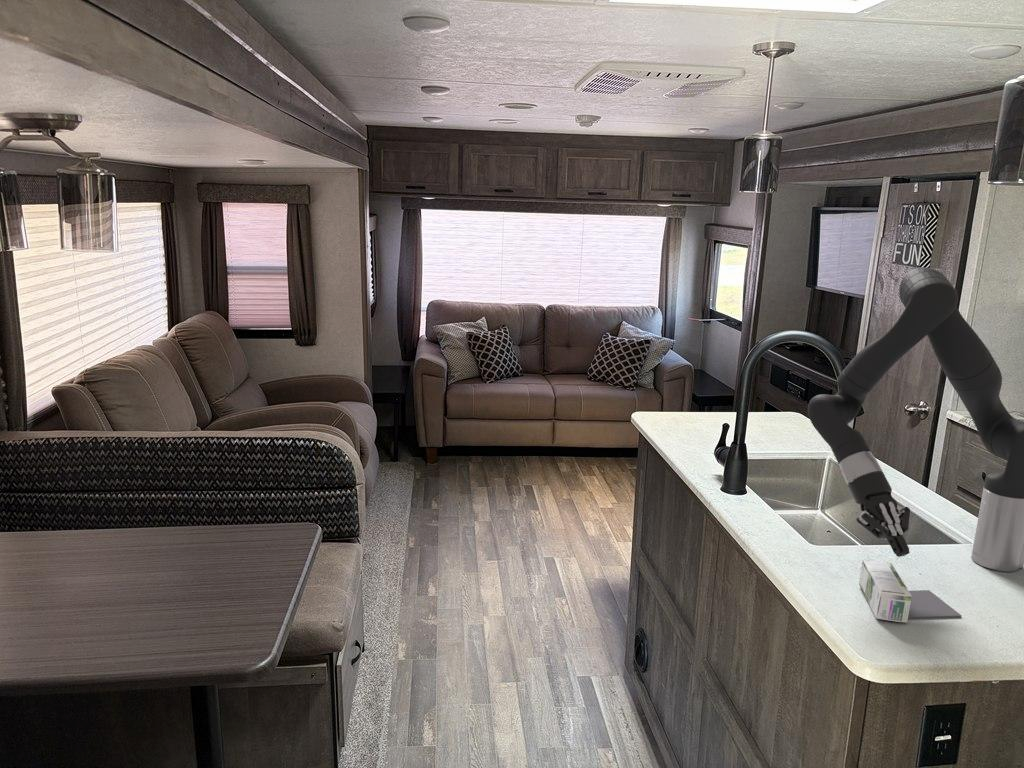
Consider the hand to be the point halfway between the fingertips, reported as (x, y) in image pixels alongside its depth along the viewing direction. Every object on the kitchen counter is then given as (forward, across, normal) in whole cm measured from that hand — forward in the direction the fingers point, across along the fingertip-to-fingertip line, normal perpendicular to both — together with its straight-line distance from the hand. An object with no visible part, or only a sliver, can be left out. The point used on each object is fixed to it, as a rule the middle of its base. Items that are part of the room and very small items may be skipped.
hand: (903, 555), depth 153 cm
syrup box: (+1, +2, -8) cm, 8 cm away
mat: (+9, 0, -4) cm, 10 cm away
